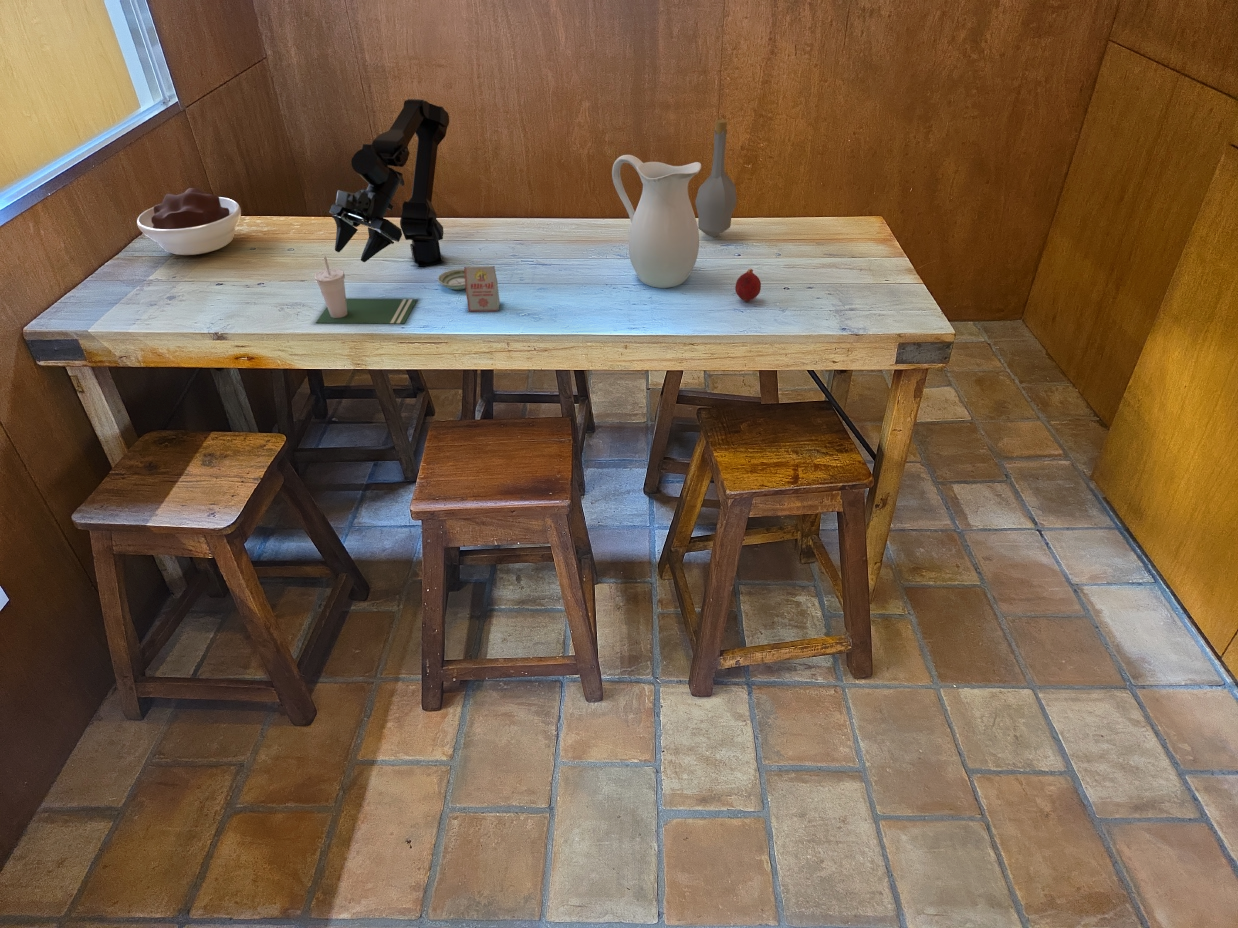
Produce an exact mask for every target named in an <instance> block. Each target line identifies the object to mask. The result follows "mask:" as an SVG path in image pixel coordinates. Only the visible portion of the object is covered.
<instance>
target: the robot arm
mask: <svg viewBox="0 0 1238 928" xmlns="http://www.w3.org/2000/svg"><path fill="white" fill-rule="evenodd" d="M449 125H450V115H449V113H448V111H447V110H445V108H444V106H441V105H436V104H433V103H430V102H428V101H427V100H424V99H421V98H419V99H417V98H413V99H412V98H408V99H405V100H404V101H403V107H402V109H401V110H400V112H399V114H398V115H397V116H396V118H395V120H394V122H393V123H392V124H391V126H390V128H389V129H388V130H387V131H384V132H382V133H379V134H378V135H377V136H376V137H375V138H374V139H373V140H372V142H371V144H370V143H363V144H362V146H361V149H359V150H357V151H356V152H355V153H354V154H353V156H352V157H351V161H350V162H351V164H350V165H351V168H352V169H353V171H354V172H355V173H356V174H357V175H358V176H360V177H361V178H362V179H363V180H364V181H365V182H366V183H367V184H368V185H367V187H366V189H363V188H361V189H359V190H357V191H356V192H355V193H354V192H350V191H345V190H341V189H337V192H336V198H335V199H336V200H335V203H333V204H332V205H331V207H330V209H329V211H328V212H329V214H331V218H332V219H333V220H334V222H335V225H336V235H335V244H334V251H335V252H337V253H340V252H341V251H342V250H343V249H344V248H345V247H346V246H347V244H349V242H350V241H351V240H352V238H353V237H354V236H355V235H356V233H357V232H358V231H359V229H358V227H359V226H360V225H363V226H365V227H367V233H368V238H367V241H366V243H365V245H364V248H363V251H362V254H361V257H360V261H361V262H362V263H366V262H368V261H369V260H370V259H371V258H372V257H374V256H375V255H377V254H378V253H380V252H381V251H382V250H384V249H386V248H387V247H389V246H390V245H394V244H395V242H396V243H399V242H400V240H401V239H402V237H403V236H404V240H405V241H408V240H409V241H411V243H410V244H409V246H410V252H411V257H412V260H413V262H414V263H415V264H416V265H417V267H419V268H422V267H428V266H434V265H439V264H443V263H444V259H443V258H442V253H441V247H440V241H443V239H444V226H443V225H442V224H441V222H439V220H438V217H437V212H436V210H435V208H434V205H433V204H432V202H433V201H432V199H433V192H434V191H433V190H434V183H435V174H436V164H437V156H438V147H439V145H440V144H441V142H442V141H443V140H444V139H445V138H446V136H447V131H448V127H449ZM415 135H416V138H417V147H416V154H415V163H414V164H415V165H414V173H413V181H412V190H411V197H410V198H409V200H407V201H406V200H405V201H403V203H402V209H401V215H400V219H399V226H400V227H399V226H398V225H396V224H395V223H393V222H392V221H391V220H389V219H387V218H385V216H386V213H387V211H388V210H389V211H392V210H393V208H394V205H392V204H391V202H392V200H393V198H394V196H395V194H396V192H397V190H398V188H399V186H402V187H404V186H405V179H404V176H403V173H402V172H400V171H398V170H395V169H394V168H392V167H395V168H403V167H405V165H406V164H407V162H408V160H409V158H410V157H409V156H410V149H409V144H410V143H411V141H412V139H413V137H414V136H415Z"/></svg>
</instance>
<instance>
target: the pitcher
mask: <svg viewBox="0 0 1238 928" xmlns="http://www.w3.org/2000/svg"><path fill="white" fill-rule="evenodd" d="M624 163H626V164H629V165H631V166H632V167H633V168H634V170H635V171H636V172H637V174H638V176H639V177H640V181H641V183H642V191H641V195H640V199H639V201H638V204H637V206H636V209H634V207H633V204H632V203H631V201H630V199H629V197H628V194H627V192H626V190H625V188H624V185H623V182H622V177H621V170H622V169H621V168H622V166H623V164H624ZM701 170H702V163H701V162H700V161H699V162H698V161H694V162H691V163H688V164H684V165H671V164H667V163H664V162H660V161H647V162H643V161H642V160H641V159H639V157H636V156H635V155H632V154H622V155H620V156H619V157H617V158H616V160H615V161H614V163H613V165H612V169H611V177H612V182H613V186H614V188H615V190H616V193H617V195H618V196H619V198H620V200H621V202H622V204H623V206H624V208H625V209H626V212H627V214H628V217H629V220H630V225H629V230H628V239H627V249H628V256H629V260H630V264H631V266H632V268H633V269H634V270H633V271H634V272H635V274H636V276H637V277H638V279H639V281H640V282H642V283H643V285H646V286H649V287H652V288H657V289H666V288H667V289H668V288H674V287H678V286H680V285H682V284H683V283H685V281H687V279H688V278H689V276H690V274H691V273H692V271H693V269H694V268H695V265H696V262H697V259H698V255H699V249H700V234H699V232H700V231H699V228H698V223H697V219H696V215H695V212H694V209H693V205H692V203H691V200H690V197H689V182H690V181H691V180H692V179H693V178H694V177H696V175H698V174H699V173H700V172H701Z"/></svg>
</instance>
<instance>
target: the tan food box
mask: <svg viewBox="0 0 1238 928" xmlns="http://www.w3.org/2000/svg"><path fill="white" fill-rule="evenodd" d="M463 269H464V273H465V288H466V289H465V295H466V302H467V309H468V310H467V311H468V312H471V313H472V312H499V309H500V304H501V301H500V293H499V284H498V278H497V273H496V268H495V265H493V266H492V265H491V266H489V265H487V266H464V267H463Z"/></svg>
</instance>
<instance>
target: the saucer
mask: <svg viewBox="0 0 1238 928" xmlns="http://www.w3.org/2000/svg"><path fill="white" fill-rule="evenodd" d="M437 282H438V283H439V284H440V285H442V286H443V287H445V288H447V289H450V290H452V291H461V290H466V288H465V273H464V268H454V269H450V270H447V271H444V272H442V273H441V274H439V275H438V277H437Z"/></svg>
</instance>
